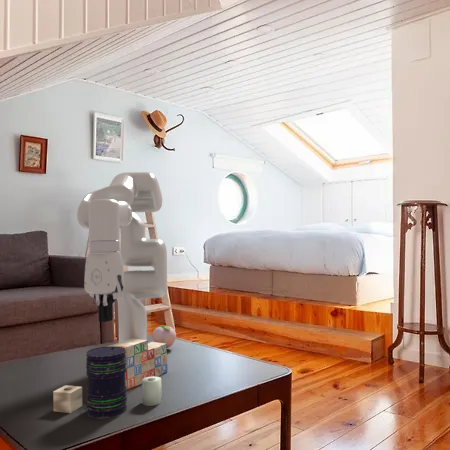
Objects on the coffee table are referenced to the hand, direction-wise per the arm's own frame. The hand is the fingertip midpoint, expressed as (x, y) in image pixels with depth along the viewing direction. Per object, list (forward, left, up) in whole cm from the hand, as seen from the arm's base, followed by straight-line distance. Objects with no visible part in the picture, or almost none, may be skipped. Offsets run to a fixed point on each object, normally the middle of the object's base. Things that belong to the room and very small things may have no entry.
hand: (105, 320), depth 117 cm
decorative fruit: (-27, +54, -23) cm, 65 cm away
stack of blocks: (-10, +22, -23) cm, 33 cm away
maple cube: (-10, -4, -23) cm, 25 cm away
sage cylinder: (+6, +10, -23) cm, 26 cm away
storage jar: (0, 0, -23) cm, 23 cm away
